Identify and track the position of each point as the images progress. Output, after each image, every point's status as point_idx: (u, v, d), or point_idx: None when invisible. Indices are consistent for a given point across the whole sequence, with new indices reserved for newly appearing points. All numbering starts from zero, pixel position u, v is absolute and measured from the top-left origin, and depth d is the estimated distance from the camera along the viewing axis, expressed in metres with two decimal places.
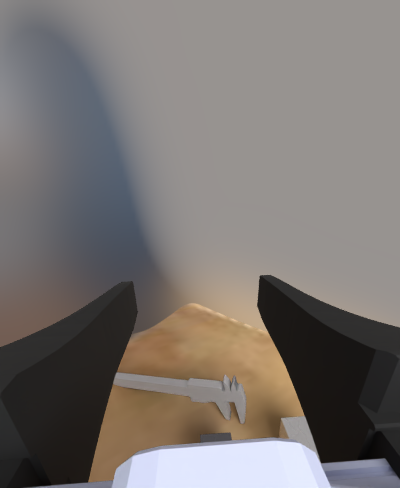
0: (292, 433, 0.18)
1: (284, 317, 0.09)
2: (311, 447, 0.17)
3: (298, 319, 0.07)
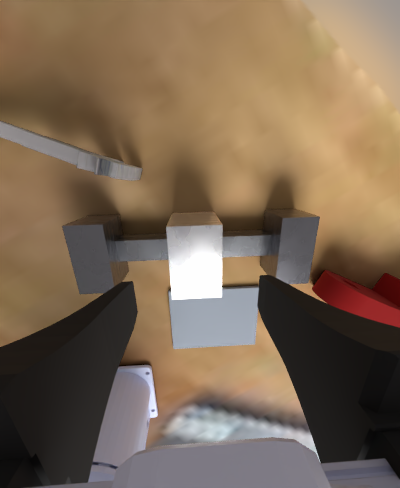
0: (174, 244, 0.14)
1: (284, 317, 0.09)
2: (190, 257, 0.15)
3: (298, 319, 0.07)
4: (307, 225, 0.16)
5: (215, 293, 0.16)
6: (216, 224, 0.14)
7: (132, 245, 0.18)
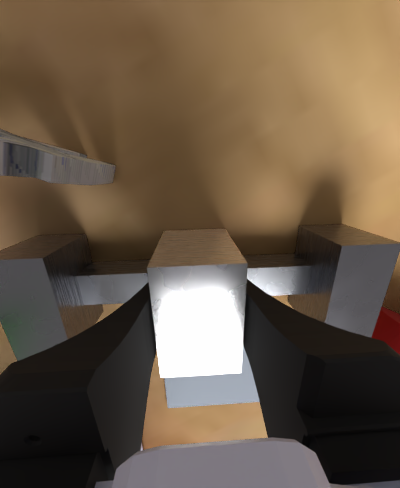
0: (162, 296, 0.08)
1: (249, 319, 0.09)
2: (190, 316, 0.09)
3: (258, 321, 0.07)
4: (380, 256, 0.10)
5: (231, 368, 0.10)
6: (236, 262, 0.08)
7: (101, 282, 0.12)
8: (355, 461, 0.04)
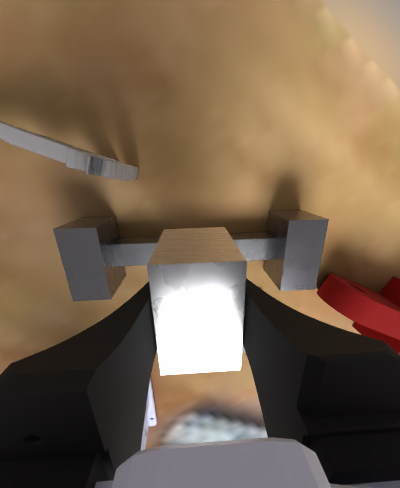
0: (162, 293, 0.08)
1: (249, 319, 0.09)
2: (190, 313, 0.09)
3: (258, 321, 0.07)
4: (315, 228, 0.15)
5: (230, 365, 0.10)
6: (235, 259, 0.08)
7: (128, 249, 0.17)
8: (355, 461, 0.04)
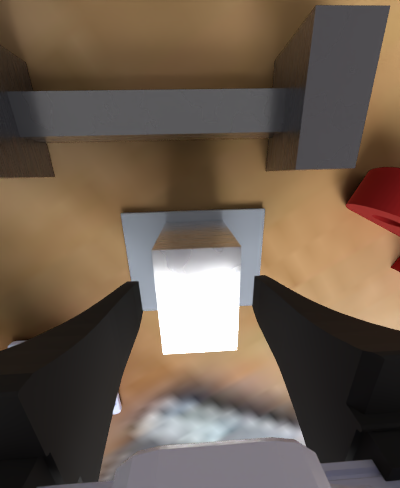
0: (165, 276, 0.09)
1: (277, 318, 0.09)
2: (190, 296, 0.10)
3: (290, 319, 0.07)
4: (363, 28, 0.08)
5: (227, 345, 0.11)
6: (231, 245, 0.09)
7: (38, 103, 0.10)
8: None
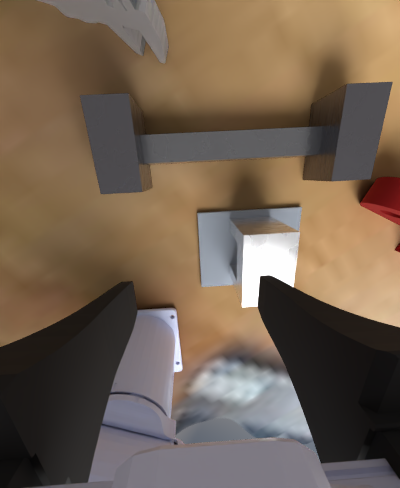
0: (250, 252, 0.14)
1: (284, 317, 0.09)
2: (264, 265, 0.15)
3: (298, 319, 0.07)
4: (376, 95, 0.13)
5: None
6: (292, 231, 0.14)
7: (159, 141, 0.15)
8: None
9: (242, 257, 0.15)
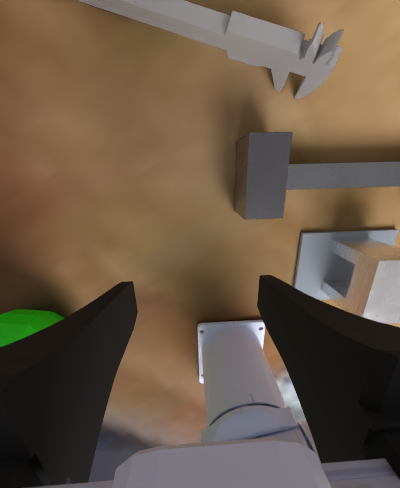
0: (380, 276, 0.16)
1: (284, 318, 0.09)
2: (390, 287, 0.16)
3: (298, 319, 0.07)
4: None
5: None
6: None
7: (292, 170, 0.16)
8: None
9: (370, 280, 0.16)
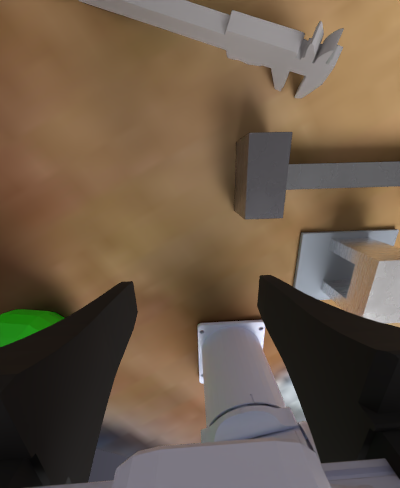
0: (380, 276, 0.16)
1: (284, 318, 0.09)
2: (390, 287, 0.16)
3: (298, 319, 0.07)
4: None
5: None
6: None
7: (292, 170, 0.16)
8: None
9: (370, 280, 0.16)
